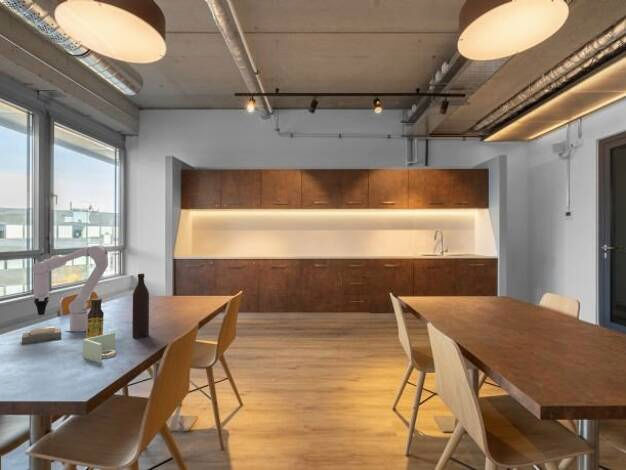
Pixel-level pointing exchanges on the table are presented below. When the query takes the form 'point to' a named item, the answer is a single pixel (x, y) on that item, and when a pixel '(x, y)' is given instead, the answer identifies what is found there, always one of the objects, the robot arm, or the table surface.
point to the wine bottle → (140, 309)
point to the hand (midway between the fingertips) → (41, 313)
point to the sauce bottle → (95, 319)
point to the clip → (42, 330)
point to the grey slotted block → (41, 337)
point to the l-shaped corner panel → (99, 347)
